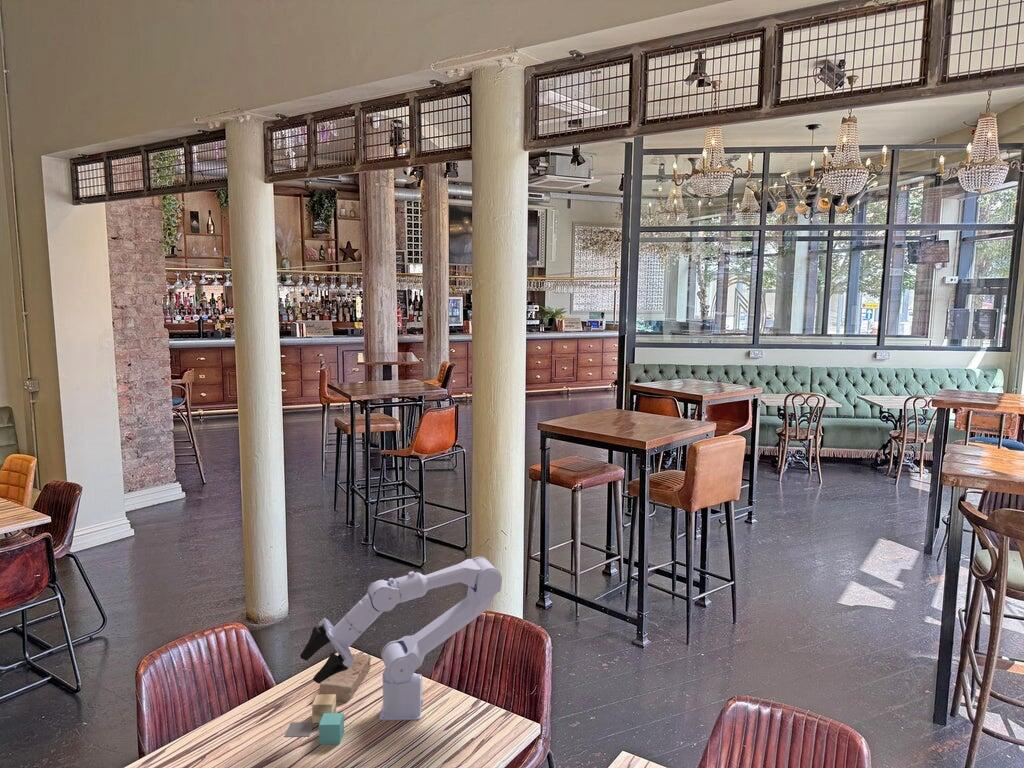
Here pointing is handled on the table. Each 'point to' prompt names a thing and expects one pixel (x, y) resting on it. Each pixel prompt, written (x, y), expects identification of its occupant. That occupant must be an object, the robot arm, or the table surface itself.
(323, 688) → the brick
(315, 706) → the beech block
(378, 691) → the table surface
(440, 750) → the table surface
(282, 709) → the table surface
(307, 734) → the plate
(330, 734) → the teal block
